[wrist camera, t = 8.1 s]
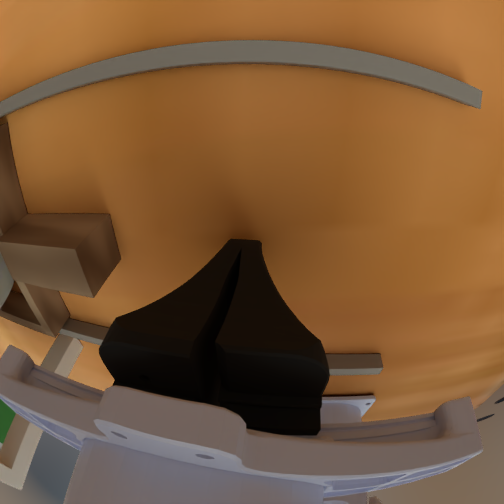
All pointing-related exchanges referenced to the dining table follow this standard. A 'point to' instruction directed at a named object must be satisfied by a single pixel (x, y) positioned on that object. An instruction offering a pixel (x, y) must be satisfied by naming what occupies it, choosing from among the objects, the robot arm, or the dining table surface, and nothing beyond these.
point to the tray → (49, 253)
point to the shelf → (198, 54)
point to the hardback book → (5, 420)
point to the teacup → (4, 281)
